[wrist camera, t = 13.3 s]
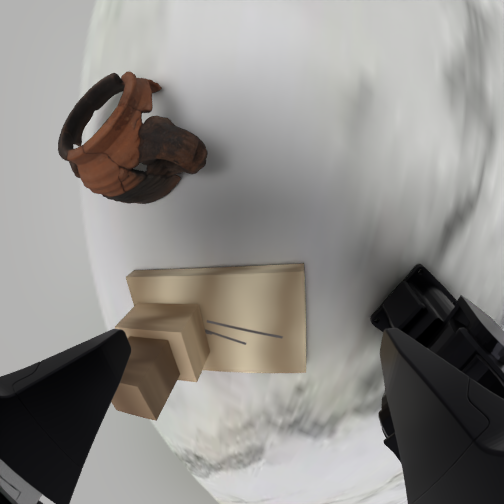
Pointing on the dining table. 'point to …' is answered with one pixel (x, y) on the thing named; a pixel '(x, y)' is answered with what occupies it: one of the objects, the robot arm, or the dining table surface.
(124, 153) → the pottery mug
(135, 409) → the block
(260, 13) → the dining table surface
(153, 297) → the pine board
